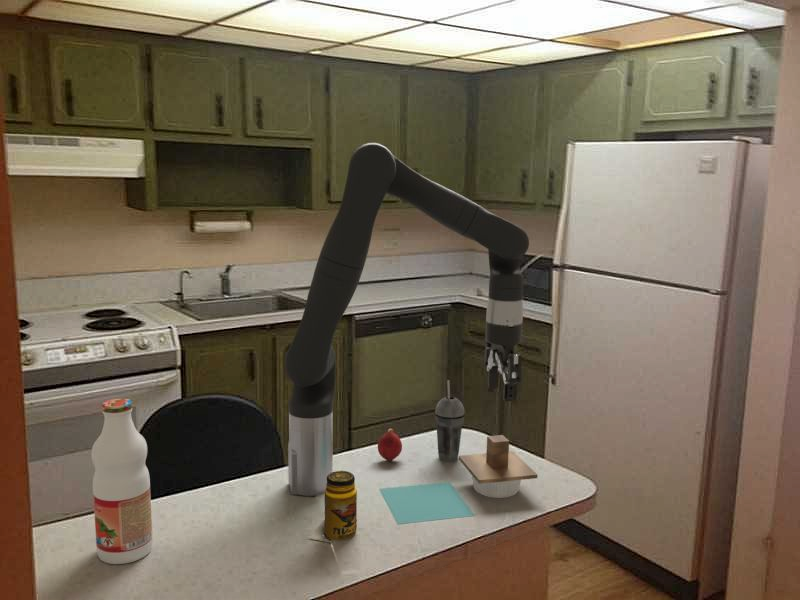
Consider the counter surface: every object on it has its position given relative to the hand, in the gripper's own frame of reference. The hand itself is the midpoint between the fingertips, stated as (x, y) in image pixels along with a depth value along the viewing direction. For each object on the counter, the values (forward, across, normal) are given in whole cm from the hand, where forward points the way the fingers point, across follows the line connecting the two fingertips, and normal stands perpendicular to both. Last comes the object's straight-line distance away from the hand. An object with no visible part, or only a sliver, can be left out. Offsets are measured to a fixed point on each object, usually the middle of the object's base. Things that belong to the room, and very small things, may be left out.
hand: (500, 394), depth 152 cm
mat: (+22, +3, -17) cm, 28 cm away
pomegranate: (+22, -20, -19) cm, 35 cm away
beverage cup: (+22, -18, -5) cm, 29 cm away
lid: (+17, 0, 0) cm, 17 cm away
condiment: (+22, +11, -37) cm, 44 cm away
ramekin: (+22, 0, 0) cm, 22 cm away
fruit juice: (+22, +9, -75) cm, 79 cm away
